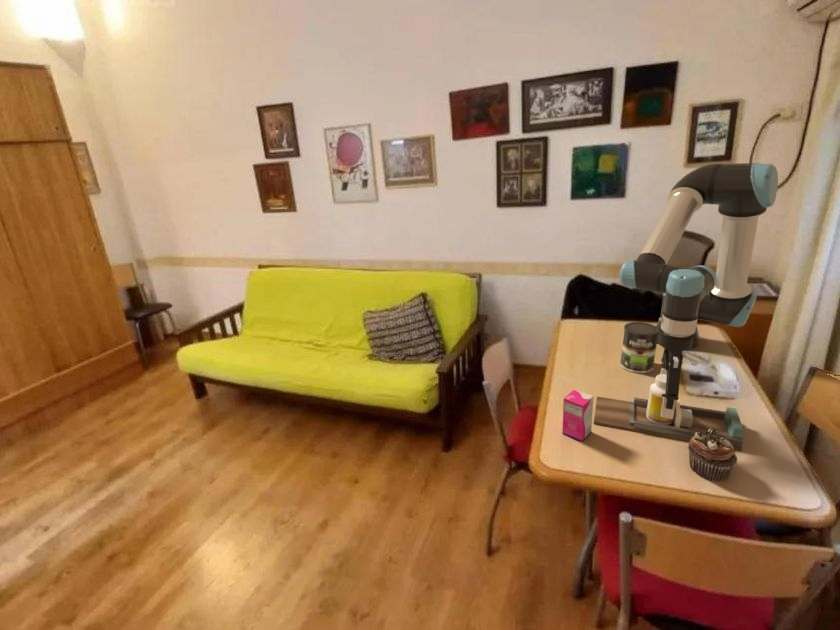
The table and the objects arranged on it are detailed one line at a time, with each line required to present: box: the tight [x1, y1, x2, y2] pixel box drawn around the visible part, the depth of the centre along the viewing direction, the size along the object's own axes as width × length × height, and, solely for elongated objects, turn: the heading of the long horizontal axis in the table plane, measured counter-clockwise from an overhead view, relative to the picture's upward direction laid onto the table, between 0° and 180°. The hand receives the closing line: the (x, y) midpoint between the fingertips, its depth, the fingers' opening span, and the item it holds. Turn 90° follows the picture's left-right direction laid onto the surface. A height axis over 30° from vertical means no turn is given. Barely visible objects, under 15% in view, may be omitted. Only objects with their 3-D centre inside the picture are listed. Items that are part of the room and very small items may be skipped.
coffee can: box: [619, 321, 659, 374], centre depth 145 cm, size 10×10×14 cm
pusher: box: [673, 398, 693, 428], centre depth 117 cm, size 9×4×5 cm, turn 156°
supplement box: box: [561, 389, 594, 443], centre depth 116 cm, size 6×6×12 cm
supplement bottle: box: [646, 373, 677, 425], centre depth 117 cm, size 7×7×13 cm
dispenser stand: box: [593, 396, 745, 452], centre depth 119 cm, size 13×34×5 cm, turn 66°
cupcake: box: [688, 428, 738, 482], centre depth 101 cm, size 10×10×10 cm
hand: (665, 402), depth 117 cm, fingers open, 13 cm apart
